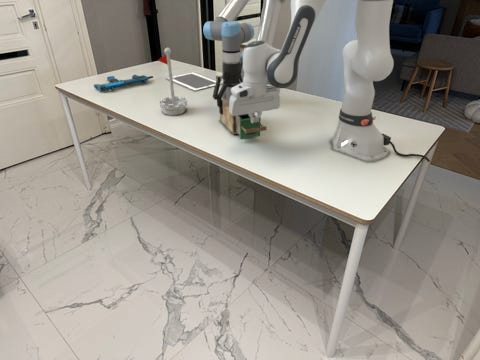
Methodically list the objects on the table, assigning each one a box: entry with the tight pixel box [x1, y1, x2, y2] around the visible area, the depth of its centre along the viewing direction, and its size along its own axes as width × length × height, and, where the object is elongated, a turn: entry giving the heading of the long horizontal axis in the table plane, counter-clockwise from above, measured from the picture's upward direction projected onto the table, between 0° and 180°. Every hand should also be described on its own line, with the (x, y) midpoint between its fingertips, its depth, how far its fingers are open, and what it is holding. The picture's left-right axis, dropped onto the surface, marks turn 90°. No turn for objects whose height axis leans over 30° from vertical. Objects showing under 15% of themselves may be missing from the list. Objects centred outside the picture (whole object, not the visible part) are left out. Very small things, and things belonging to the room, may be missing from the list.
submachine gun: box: [93, 74, 154, 92], centre depth 206 cm, size 34×4×25 cm
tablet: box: [166, 71, 223, 92], centre depth 210 cm, size 32×20×1 cm, turn 41°
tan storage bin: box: [219, 99, 256, 135], centre depth 151 cm, size 17×10×10 cm, turn 22°
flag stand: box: [157, 47, 188, 116], centre depth 161 cm, size 13×13×30 cm
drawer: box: [234, 114, 268, 140], centre depth 143 cm, size 22×9×8 cm, turn 22°
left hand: (232, 111), depth 156 cm, fingers closed on tan storage bin, 10 cm apart
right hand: (254, 122), depth 134 cm, fingers closed
